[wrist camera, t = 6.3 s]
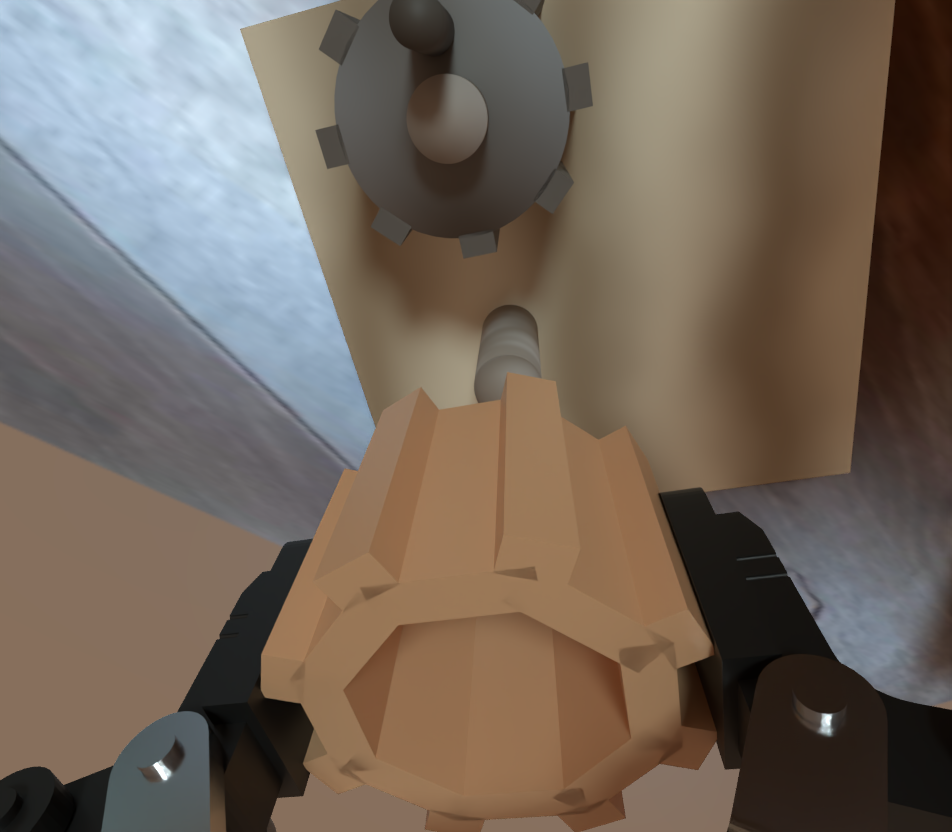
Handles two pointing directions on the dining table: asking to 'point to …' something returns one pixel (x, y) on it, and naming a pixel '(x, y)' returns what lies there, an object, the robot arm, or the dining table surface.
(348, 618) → the loose gear
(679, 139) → the gear board
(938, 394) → the dining table surface
